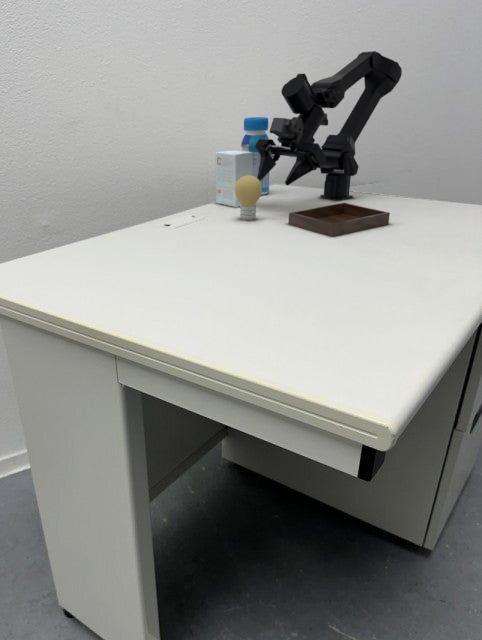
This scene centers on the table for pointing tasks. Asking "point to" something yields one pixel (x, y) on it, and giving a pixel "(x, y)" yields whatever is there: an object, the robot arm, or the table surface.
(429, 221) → the table surface
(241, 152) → the small box
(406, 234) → the table surface
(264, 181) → the beverage bottle
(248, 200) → the light bulb
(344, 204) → the walnut tray
